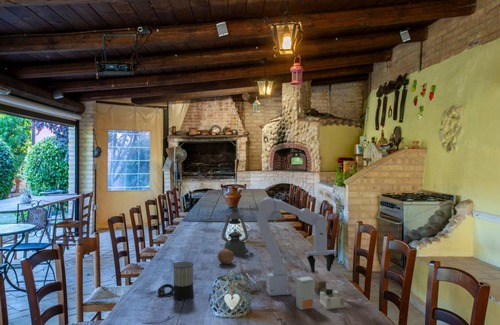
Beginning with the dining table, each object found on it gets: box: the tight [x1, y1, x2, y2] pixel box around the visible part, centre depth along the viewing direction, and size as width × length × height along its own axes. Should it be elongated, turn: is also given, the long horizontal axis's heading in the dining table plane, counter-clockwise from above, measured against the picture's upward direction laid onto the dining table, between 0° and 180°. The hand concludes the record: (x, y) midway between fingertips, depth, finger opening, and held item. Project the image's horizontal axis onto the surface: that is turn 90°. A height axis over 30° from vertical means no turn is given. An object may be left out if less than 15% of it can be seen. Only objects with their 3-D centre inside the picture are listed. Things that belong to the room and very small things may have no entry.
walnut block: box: [314, 278, 327, 296], centre depth 175 cm, size 4×4×6 cm
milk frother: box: [157, 261, 195, 300], centre depth 173 cm, size 14×16×15 cm
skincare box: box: [295, 276, 315, 310], centre depth 159 cm, size 6×4×12 cm
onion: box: [217, 247, 235, 266], centre depth 224 cm, size 10×9×10 cm
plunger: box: [320, 288, 333, 298], centre depth 167 cm, size 7×4×4 cm, turn 10°
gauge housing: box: [319, 290, 346, 310], centre depth 162 cm, size 8×8×4 cm
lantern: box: [221, 207, 249, 255], centre depth 257 cm, size 18×20×30 cm
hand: (320, 271), depth 175 cm, fingers open, 7 cm apart
